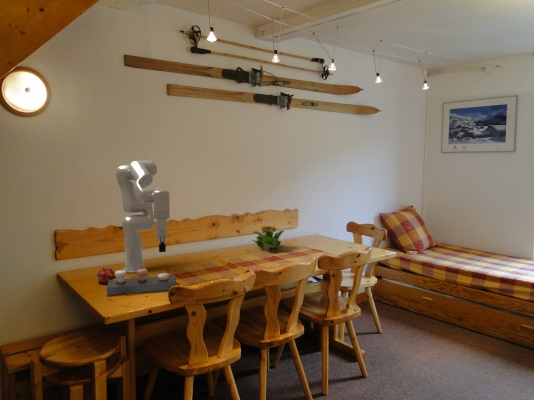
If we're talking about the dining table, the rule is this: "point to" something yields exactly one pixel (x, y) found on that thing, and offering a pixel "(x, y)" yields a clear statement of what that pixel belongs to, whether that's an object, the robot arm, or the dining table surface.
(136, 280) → the knob mount
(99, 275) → the dragon fruit
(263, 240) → the potted flower
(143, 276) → the dial
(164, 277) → the knob
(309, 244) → the dining table surface
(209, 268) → the dining table surface
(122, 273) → the knob
